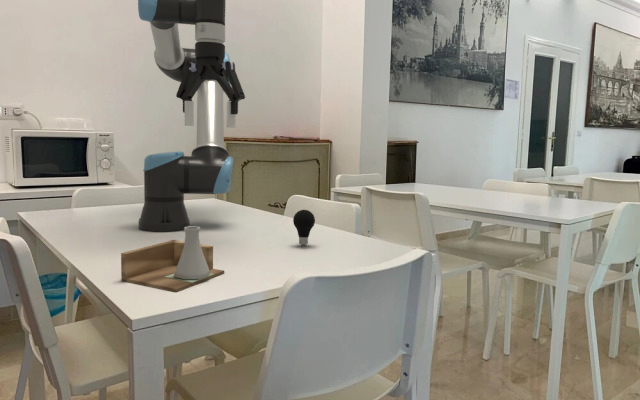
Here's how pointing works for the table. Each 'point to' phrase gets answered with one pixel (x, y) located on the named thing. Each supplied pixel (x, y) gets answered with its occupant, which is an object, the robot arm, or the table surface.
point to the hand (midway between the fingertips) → (209, 126)
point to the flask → (192, 257)
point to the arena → (162, 266)
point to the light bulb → (303, 225)
